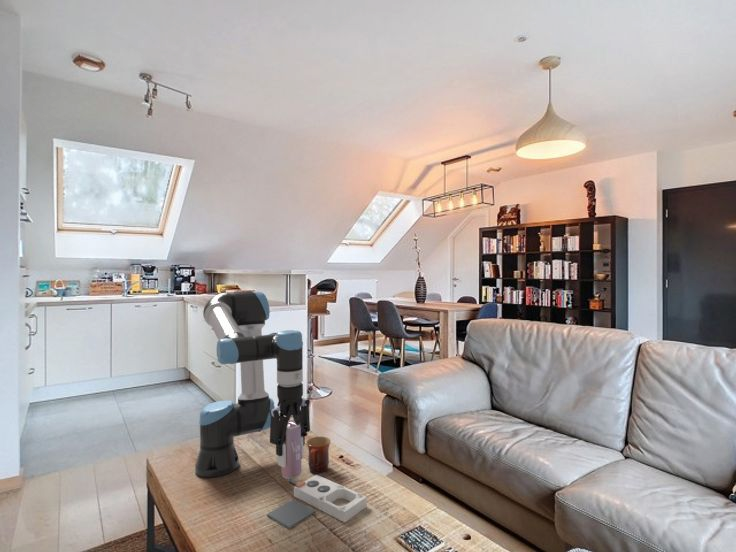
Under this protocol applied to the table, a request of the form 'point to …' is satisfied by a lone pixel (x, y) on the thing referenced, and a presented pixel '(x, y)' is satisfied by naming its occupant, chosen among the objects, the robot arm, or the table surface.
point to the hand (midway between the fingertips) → (290, 461)
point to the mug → (318, 454)
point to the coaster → (291, 513)
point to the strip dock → (329, 497)
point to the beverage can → (292, 451)
